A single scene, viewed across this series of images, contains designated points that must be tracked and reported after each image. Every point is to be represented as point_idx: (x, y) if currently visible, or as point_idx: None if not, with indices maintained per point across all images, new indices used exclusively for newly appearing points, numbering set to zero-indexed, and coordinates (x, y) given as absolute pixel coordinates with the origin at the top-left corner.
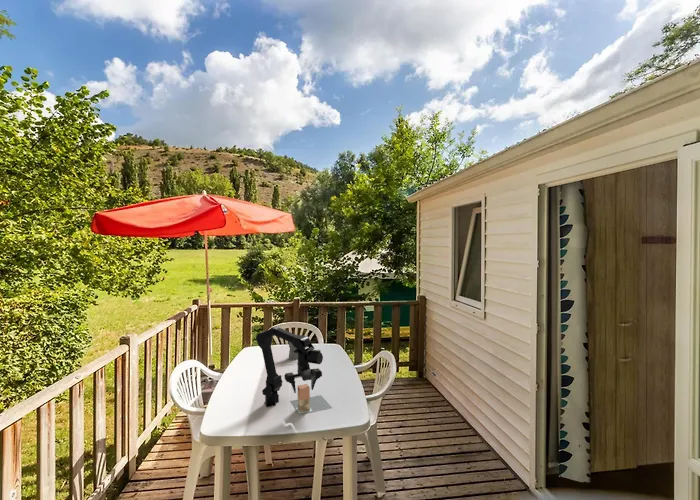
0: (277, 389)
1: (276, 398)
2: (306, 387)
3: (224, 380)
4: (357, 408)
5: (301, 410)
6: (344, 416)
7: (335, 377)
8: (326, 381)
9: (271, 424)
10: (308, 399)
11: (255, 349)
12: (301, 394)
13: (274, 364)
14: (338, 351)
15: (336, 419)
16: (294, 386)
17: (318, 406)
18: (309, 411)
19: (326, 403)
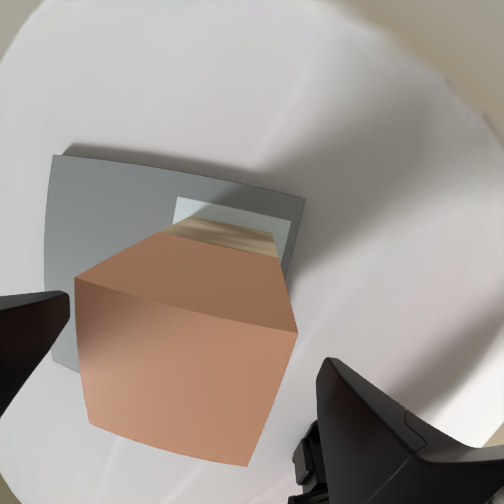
0: (325, 498)
1: (320, 455)
2: (131, 314)
3: None
4: None
5: (264, 232)
6: (66, 49)
7: (3, 425)
8: (28, 432)
9: (470, 228)
10: (174, 234)
11: None
12: (264, 279)
13: None
14: (10, 486)
15: (117, 31)
16: (401, 421)
17: (108, 235)
18: (203, 200)
19: (52, 242)
